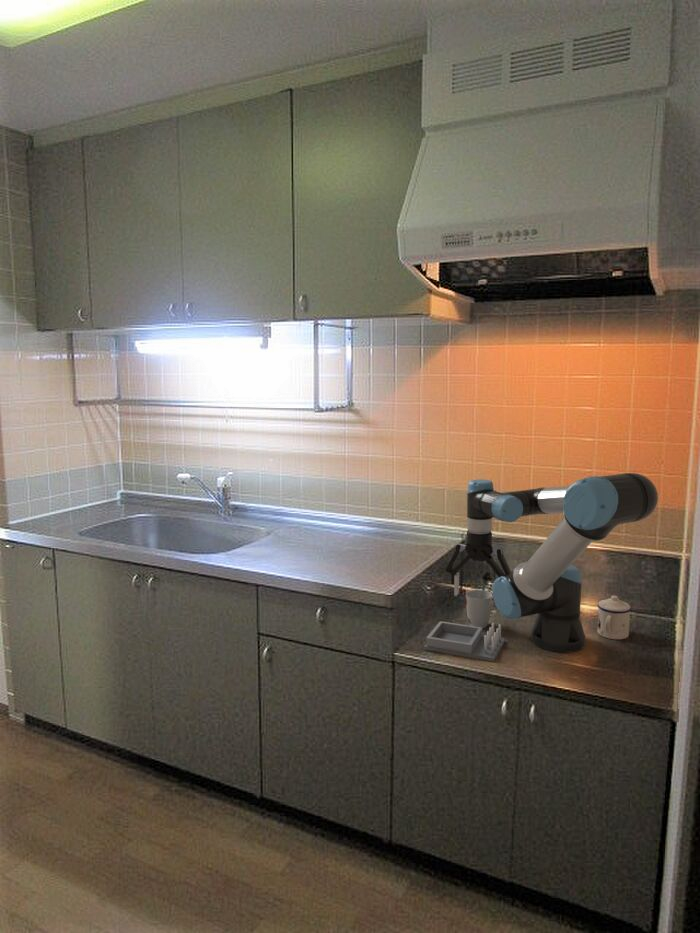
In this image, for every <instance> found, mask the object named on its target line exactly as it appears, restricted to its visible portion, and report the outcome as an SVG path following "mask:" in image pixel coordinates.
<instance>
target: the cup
mask: <svg viewBox="0 0 700 933" xmlns="http://www.w3.org/2000/svg"><path fill="white" fill-rule="evenodd" d="M492 602H493V593H492V592H490V591H487V590H484V589H483V590H482V589H471V590H468V591H466V592H465V607H466V608H465V609H466V615H467V620H468V623H469V626H475V627H482V628H483V629H485V628H487V626H488V624H489V620H490V616H491V611H492V605H493V604H492Z"/></svg>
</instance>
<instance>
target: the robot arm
mask: <svg viewBox="0 0 700 933" xmlns="http://www.w3.org/2000/svg"><path fill="white" fill-rule="evenodd" d="M466 494H467V497H466V500H467V501H466V502H467V503H466V512H467V513H466V514H467V516H466V529H467V531H466V544H462V542H458V543H457V544H456V546H455V551H454V553H453V555H452V557H451V559H450V561H449V563H448V564H447V566H446V567H445V570H444V571H445V572H446V573H449V574H450V575H451V577H450V581H451V585H453V589H454V590H453V594H454V595H453V596H455V597H457V596H458V595H459V594H460V573H459V572H458V571H459V570H460V569H461V568H462V567H464V565H465V564H466V563H467V562H468V561H469V560H470V559H471V560H472V561H475V562H477V561H479V562H481V563H482V562H486V563H487V564H488V566H490V568H491V569H492V570H493V572H494V573H495V574H496V575H497V576H498V577H497V578H496V579H495V580H494V582H493V583H492V599H493V600H494V604H495V606H496V608H497V610H498V612H499V613H500V614H501V615H502V616H503V617H505V618H506V619H509V620H512V619H513V620H514V619H520V618H521V619H522V618H523V617H529V616H533V615H536V617H535V619H534V623H533V625H532V627H531V630H530V640H531V642H532V644H534V645H535V646H537V647H539V648H541V649H542V650H543V649H544V650H547V651H550V652H551V651H552V652H557V653H570V652H571V653H573V652H577V651H580V650H582V649H584V648H585V646H586V643H587V642H586V640H587V639H586V637H587V636H586V633H585V631H584V627H583V624H582V620H581V600H582V584H583V582H582V572H581V570H580V568H578V567H577V566H575V565H572V564H573V563H574V562H575V561H576V560H577V559H578V557H580V555H582V554H583V552H584V551H585V550H586V549H587V548H588V547H589V546H590V545H591V544H592V543H593V542H594V541H595V542H599V541H602V540H604V539H605V538H606V537H607V536H608V535H609V534H610V533H611V532H612V531H613V530H614V529H615V528H616V527H617V526H619V525H623V524H629V523H635V522H639V521H642V520H644V519H647V518H648V517H649V516H651V515H652V513H653V512H654V511H655V509H656V508H657V505H658V500H659V496H658V490H657V487H656V485H655V484H654V483H653V481H651V479H650V478H648V477H647V476H644V475H643V474H639V473H636V472H626V473H617V474H609V475H602V476H598V475H597V476H596V475H595V476H589V477H585V478H582V479H578V480H575V481H574V482H573V483H572V484H571V485H565V486H552V487H551V486H550V487H537V488H532V489H531V488H530V489H523V490H515V491H507V492H500V491H497V490H494V482H492V481H491V480H489V479H482V478H481V479H480V478H479V479H472V480H469V482H468V483H467V493H466ZM550 514H553V515H554V514H563V519H561V521H560V522H559V523H558V524H557V526H556V527H555V528H554V529H553V531H552V532H551V533H550V534H549V536H548V537H547V538H546V539H545V540H544V541H543V543H542V544H541V545H540V546H539V547H538V548H537V550H536V551H535V552H534V554H533V555H531V556H530V558H529V559H528V561H526V562H520V563H519V564H517V565H516V566H515V567H514V569H513V570H512V571H511V568H510V567H509V565H508V562H507V560H506V558H505V556H504V552H503V547H501V546H499V547H498V548H496V547H495V548H494V547H493V545H492V544H493V532H492V531H493V518H494V519H496V520H498V521H501V522H506V523H514V522H516V521H517V520H518V519H520V518H521V517H527V516H534V515H550ZM464 550H465V552H466V553H467V555H466V556H465V557H464V558H463V559H462V560H461V561H460V562H459V563H458V564H457V565H456V566H455V567H454V565H455V563H456V561H457V560H458V557H459V556H460V554H461V552H463V551H464ZM492 553H494V555H495V556H496V558H497V560H498V562H499V564H500V566H501V567H500V566H499V565H498V563H497V562H496V560H494V557H493V556H492ZM453 567H454V568H453ZM501 568H502V569H501Z"/></svg>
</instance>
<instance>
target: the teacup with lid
mask: <svg viewBox="0 0 700 933" xmlns="http://www.w3.org/2000/svg"><path fill="white" fill-rule="evenodd" d="M597 608H598V610H597V611H598V614H597V634H598V635H600V636H601V637H603V638H606V639H611V640H623V639H624V640H625V639H627V638H628V637H629V635H630V621H631V620H630V616H631V615H630V614H631V610H632V608H631V605H630V604H629V603H628V602H626V601H623V600H622V599H619V597H618V596H617V595H611V596H610V598H607V599H602V600H599V602H598V603H597Z"/></svg>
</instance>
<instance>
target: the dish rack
mask: <svg viewBox="0 0 700 933" xmlns="http://www.w3.org/2000/svg"><path fill="white" fill-rule="evenodd" d="M483 629H484V628H482V627H475V626H470V624H460V623H453V622H449V621H439V622H438V623H437V624H436V625H435V626H434V628H433V629H432V630H431V631H430V632H429V634H428V635H426V636H427V637H426V638H425V639H426V642H425V645H424V646H423V650H425V651H428V652H434V651H435V653H441V654H446V655H453V656H458V657H464V658H471V659H476V660H483V661H485V662H487V661H488V662H496V660H497V658H498V656H499V654H500V652H501V650H502V649H503V646H504V644H505V643H506V638H505V637H502V624H498V628H495V623H494V622H492V623H491V626H490V627H489V628H488V629H489V630H487V631H486V635H485V634H483V633H484V632H483ZM495 630H496V632H495Z"/></svg>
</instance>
